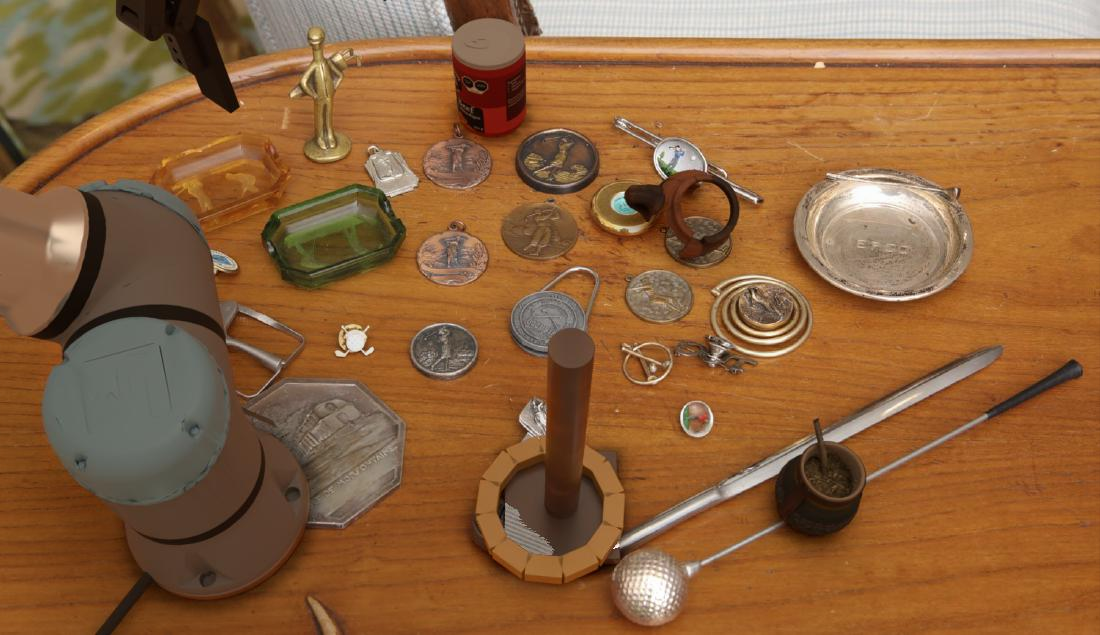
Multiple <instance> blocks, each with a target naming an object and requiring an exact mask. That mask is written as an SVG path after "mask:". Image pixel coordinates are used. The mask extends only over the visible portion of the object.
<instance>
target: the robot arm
mask: <svg viewBox="0 0 1100 635" xmlns="http://www.w3.org/2000/svg"><path fill="white" fill-rule="evenodd" d="M382 1H384V2H387V0H382ZM200 3H201V0H115V16H116V19H117V20H118V21H119V22H120V23H122V24H123V25H124V26H126V27H128V28H129V29H131V30H132V31H134V32H135V33H137V34H138V35H140V36H141V37H143V38H144V39H146V40H148V42H156V41H159V40H160V39H161V38H163V39H164V42H165V44H166V46H167V49H168V51H169V53H170V56H171V58H172V60H173V62H174V63H175V64H176V65H177V66H179V67H181V68H182V69H183V70H185V71H187V72H188V73H189V74H191V75H193V76H194V78H195V81H196V83H197V86H198V88H199V90H200V93H201V95H203V96H204V97H205V98H207V99H208V100H210V101H211V102H212V103H214V104H216V105H217V106H219V107H220V108H222V109H223V110H225V111H226V112H227V113H229V114H233V113H234V112H236V111H237V110H239V108H241V105H240V102H239V99H238V97H237V95H236V91H235V89H234V87H233V84H232V81H231V78H230V75H229V73H228V70H227V67H226V65H225V62H224V60H223V56H222V54H221V51H220V49H219V46H218V42H217V40H216V38H215V35H214V33H213V30H212V27H211V24H210V21H208V20H207V19H205V18H203V17H202V16H200V15H199V14H198V10H199V7H200ZM211 250H212V248H211V247H210V245H209V243H208V240H207V238H206V236H205V233H204V228H203V226H202V224H201V221H200V220H199V218H198V216H197V215H196V213H195V212H194V211H193V210H192V208H191V207H190V206H189V205H188V204H186V203H185V201H183V200H182V199H181V198H180V197H178V196H177V195H175V194H173V193H172V192H170V191H168V190H166V189H164V188H162V187H160V186H157V185H155V184H152V183H148V182H146V181H141V180H137V179H128V178H118V179H116V181H115V183H111V184H110V183H109V184H108V183H107V182H106V180H104V179H101V180H94V181H91V182H87V183H85V184H81V185H80V186H78V187H73V186H69V185H64V184H63V185H58V186H56V187H54V188H51V189H49V190H47V191H44V192H42V193H40V194H38V195H33V194H30V193H27V192H25V191H21V190H18V189H16V188H13V187H10V186H6V185H3V184H0V315H1V316H2V318H3V319H4V321H5V323H6V324H7V326H8V328H9V329H10V330H11V331H12V332H14V334H17V335H20V336H23V337H28V338H31V339H32V338H33V339H38V340H42V341H47V342H50V343H55V344H58V345H59V346H60V347H61V354H62V356H61V363H60V364H59V365H57V364H55V365H53V367H52V369H51V370H50V373H49V374H48V376H47V379H46V381H45V386H44V389H43V393H42V399H41V418H42V419H41V420H42V425H43V429H44V434H45V436H46V438H47V441H48V442H49V445H50V447H51V448H52V450H53V452H54V453H55V455H56V456H57V457H58V458H59V461H60V463H61V464H62V467H63V468H64V469H65V470H66V471H67V473H68V474H69V475H70V476H71V477H72V478H73V479H74V480H75V481H76V482H77V483H78V484H79V485H80V486H81V487H83V488H84V489H85V490H88V491H89V492H90V493H92V494H93V495H95V496H96V497H97V498H98V499H99V500H100V501H102V503H104V505H106V506H107V508H109V509H110V510H111V511H113V513H115V515H117V516H118V517H119V518H120V519H121V520H122V521H123V522H124V527H125V528H124V530H125V536H126V541H127V545H128V548H129V550H130V553H131V554H132V557H133V558H134V560H135V562H136V564H137V565H138V566H139V568H140V569H141V571H142V572H143V574H142V575H141V576H140V577H139V578H138V580H137V581H136V582H135V584H133V586H132V587H131V588H130V590H129V591H128V592H127V593H126V595H125V596H124V597H123V598H122V600H121V601H120V602H119V603H118V605H117V606H116V607H115V608H114V610H113V611H112V612H111V614H110V615H109V616H108V617H107V619H105V621H104V622H103V624H101V626H100V627H99V629H98V630H97V631H96V633H95V634H94V635H112V634H113V632H114V631H115V630H116V629H117V627H118V626H119V625H120V623H122V621H123V619H125V617H126V616H127V614H128V613H129V612H130V610H132V609H133V607H134V606H135V604H136V603H137V602H138V601H139V600H140V598H141V597H142V595H143V594H144V593H145V592H146V591H147V590H148V588H149V587H150V586H151V585H152V583H153V582H154V583H155V584H156V585H157V586H159V587H160V588H162V589H163V590H165V591H167V592H168V593H171V594H173V595H176V596H179V597H181V598H186V599H188V600H189V599H191V600H196V601H197V600H198V601H211V600H219V599H220V600H222V599H226V598H230V597H235V596H237V595H240V594H243V593H244V592H248V591H249V590H252V589H254V588H255V587H258V586H259V585H260V584H262V583H264V582H265V581H266V580H268V579H269V578H270V577H272V576H273V575H274V574H276V572H278V571H279V570H280V569H281V568H282V567H283V566H284V565H285V563H286V562H287V561H288V560H289V559H290V557H291V556H292V555H293V553H294V552H295V551H296V549H297V547H298V546H299V544H300V543H301V540H302V538H303V536H304V533H305V530H306V528H307V525H308V521H309V516H310V511H311V510H310V508H311V493H310V487H309V483H308V479H307V476H306V474H305V472H304V470H303V468H302V466H301V464H300V462H299V461H298V459H297V458H296V456H295V455H294V454H293V452H291V450H290V449H289V448H288V447H287V446H286V445H285V444H283V443H282V441H280V440H279V439H278V438H276V437H275V436H273V435H271V434H270V433H268V432H266V431H263V430H261V429H259V428H256V427H254V426H252V424H251V422H250V420H249V419H248V417H247V416H249V417H252V418H254V419H256V420H258V421H261V422H264V423H265V424H268V425H270V426H273V427H275V428H277V425H276V423H275V421H274V420H272V419H270V418H268V417H266V416H264V415H261V414H259V413H256V412H255V411H253V410H250V409H247V408H245V407H244V406H243V407H242V406H241V403H240V399H239V396H238V393H237V389H236V384H235V378H234V373H233V368H232V363H231V358H230V353H229V349H228V344H227V336H226V330H225V325H224V319H223V315H222V309H221V303H220V298H219V294H218V287H217V282H216V277H215V264H214V257H213V254H212V251H211Z"/></svg>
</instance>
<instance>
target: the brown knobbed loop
mask: <svg viewBox="0 0 1100 635" xmlns="http://www.w3.org/2000/svg"><path fill="white" fill-rule="evenodd" d="M701 183H708V184H713V185H715V187H718V188H719V189H720V191H722V192H723V193H724V195H725V196H726V198H727V201H728V204H729V218H728V221H727V223H726V224H725V226H724V227H723V228H722V229H721V230H720V231H719V232H717V233H714V234H709V235H703V236H701V239H699V238H695V237H694V235H695V231H694V230H693V229H691V227H690V226H689V225H688V224H687V223H686V221H685V219H684V217H683V214H682V206H681V205H682V204H681V203H682V200H683V197H684V194H685V193H687V194H690V195H691V194H694V193H695V191H696V190H697V189H699V188H700V187H701ZM623 200H624V201H625V203H626V205H627V207H629V208H630V209H631V210H633V211H635V212H637V213H638V214H640V215H641V217H642V218H643V220H644V221H645V223H650V222H651V220H652V218H653V217H654V216H656V215H658V214H660V212H661V211H662V210H663V208H664V206H665V205H666V207H667V209H666V210H665V211H664V212H662V214H663V217H664V220H665V221H666V223H667V225H668V228H669V229H670V231H671V232H672V233H673V234H674V236H675V237H676V239H677V240H678V241H679V243H681V244H682V245H684V247H683V248H682V249H681V250H679V251H677V256H678V257H680V258H681V259H685V260H686V259H687V260H692V259H696V258H697V257H698V256H700V257H703V256H704V257H705V256H706V255H709V254H710V253H712V252H714V251H716V250H717V249H719V248H720V247H722V246H723V245H725V243H726V242H727V241H728V240H729V239H730V237H731V233H733V232H734V230H735V228H736V226H737V225H738V221H739V218H740V211H741V208H740V200H739V199H738V196H737V193H736V191H735V189H734V188H733V186H732V185H731V184H730V183H729V181H727V180H726V179H724V178H722V177H720V176H718V175H716V174H709V173H707V172H706V171H703V170H701V169H685V170H684V169H683V170H680V171H677V172H674V173H673V174H671V175H669V176H667V177H666V178H664V179H663V180H662V181H661V182H660V183H659V184H653V183H652V184H651V183H646V184H631V185H630V186H629V187H627V189H626V190H624V193H623Z"/></svg>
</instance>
